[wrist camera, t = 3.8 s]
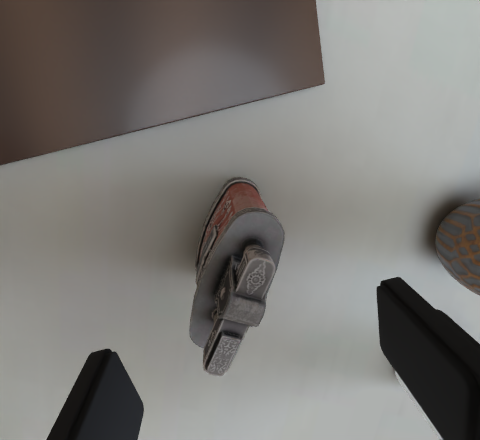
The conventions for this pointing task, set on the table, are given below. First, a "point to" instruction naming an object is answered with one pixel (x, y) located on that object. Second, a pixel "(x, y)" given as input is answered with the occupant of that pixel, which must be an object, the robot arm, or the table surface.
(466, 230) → the vase
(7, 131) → the walnut board
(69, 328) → the table surface
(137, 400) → the robot arm
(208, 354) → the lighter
